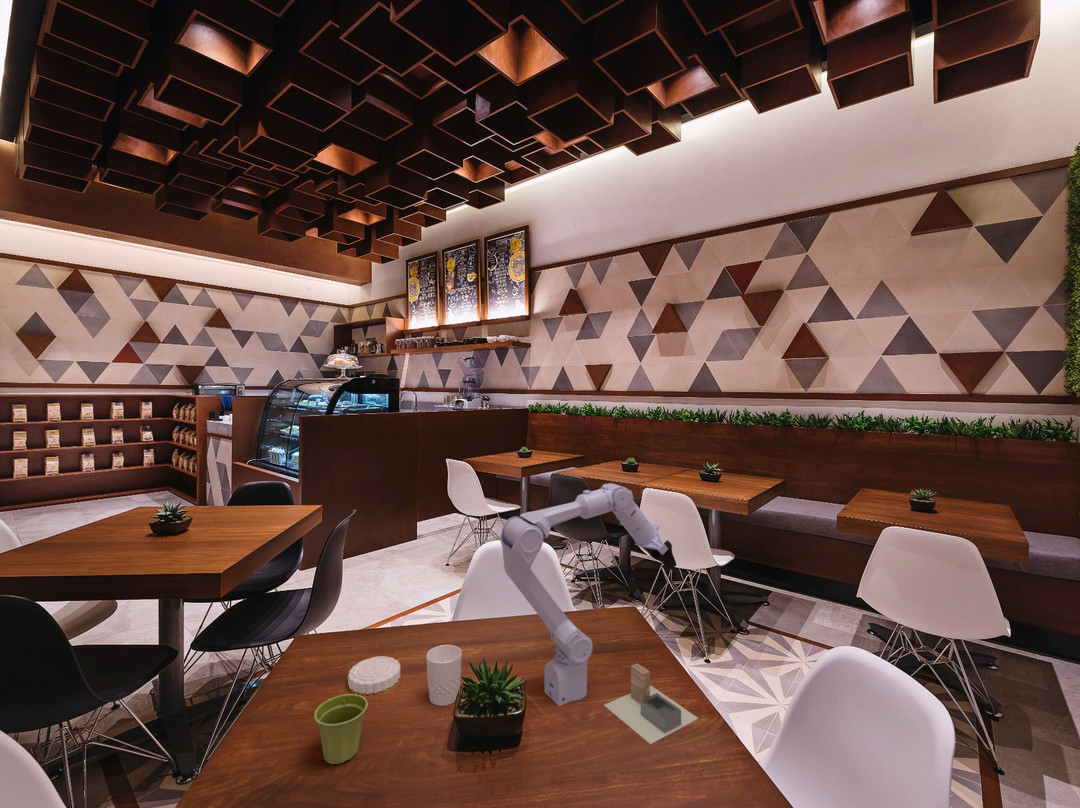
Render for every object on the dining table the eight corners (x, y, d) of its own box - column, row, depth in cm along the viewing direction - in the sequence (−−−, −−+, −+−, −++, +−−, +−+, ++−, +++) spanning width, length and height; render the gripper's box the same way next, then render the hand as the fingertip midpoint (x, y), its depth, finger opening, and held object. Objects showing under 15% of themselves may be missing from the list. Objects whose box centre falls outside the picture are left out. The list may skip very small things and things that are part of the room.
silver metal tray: (664, 733, 95) (664, 718, 95) (640, 714, 100) (640, 700, 100) (681, 724, 97) (681, 710, 97) (656, 706, 103) (656, 692, 103)
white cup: (423, 691, 110) (423, 648, 110) (457, 683, 113) (457, 641, 113) (430, 711, 103) (429, 666, 103) (465, 702, 106) (465, 658, 106)
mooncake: (348, 702, 106) (348, 686, 106) (347, 674, 117) (347, 660, 117) (403, 689, 111) (403, 674, 111) (397, 663, 122) (397, 649, 122)
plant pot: (328, 735, 95) (328, 692, 95) (374, 736, 95) (374, 693, 95) (304, 771, 86) (304, 724, 86) (355, 773, 86) (355, 725, 86)
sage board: (650, 749, 92) (650, 744, 92) (603, 709, 103) (603, 705, 103) (698, 723, 99) (698, 718, 99) (649, 688, 111) (649, 684, 111)
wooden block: (643, 706, 103) (643, 674, 103) (630, 696, 106) (630, 665, 106) (650, 703, 104) (650, 671, 104) (637, 693, 107) (637, 663, 107)
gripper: (663, 521, 110) (692, 561, 113) (633, 503, 124) (659, 539, 127) (642, 542, 109) (672, 581, 112) (613, 521, 122) (641, 557, 126)
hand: (664, 560), depth 120 cm, fingers open, 7 cm apart
